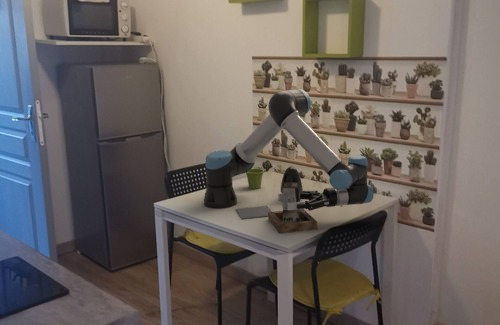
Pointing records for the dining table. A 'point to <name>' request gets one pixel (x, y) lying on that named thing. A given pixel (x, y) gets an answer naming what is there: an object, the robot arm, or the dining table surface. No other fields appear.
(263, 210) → the grey rubber mat
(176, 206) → the dining table surface
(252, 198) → the dining table surface
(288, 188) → the coffee box
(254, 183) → the plant pot
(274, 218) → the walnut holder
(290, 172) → the dark rounded canister
